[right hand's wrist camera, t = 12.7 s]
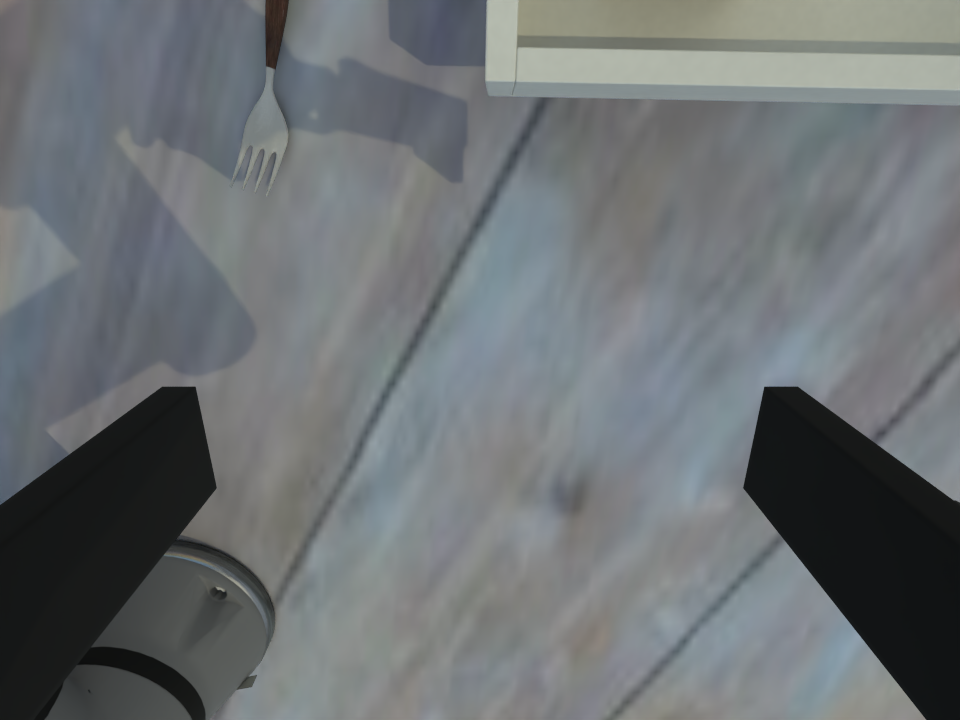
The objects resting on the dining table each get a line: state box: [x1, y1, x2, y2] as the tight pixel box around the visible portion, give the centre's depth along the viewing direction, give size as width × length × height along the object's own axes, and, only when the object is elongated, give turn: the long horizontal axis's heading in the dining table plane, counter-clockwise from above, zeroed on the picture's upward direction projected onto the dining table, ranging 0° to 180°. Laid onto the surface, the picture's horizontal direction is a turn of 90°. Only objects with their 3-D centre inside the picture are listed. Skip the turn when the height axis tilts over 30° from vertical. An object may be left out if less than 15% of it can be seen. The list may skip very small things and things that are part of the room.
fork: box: [230, 0, 289, 197], centre depth 29 cm, size 3×16×2 cm, turn 165°
